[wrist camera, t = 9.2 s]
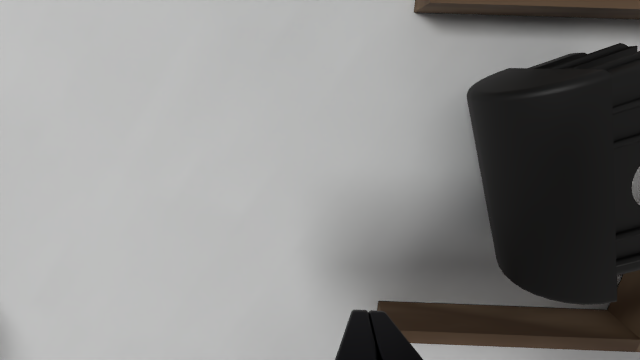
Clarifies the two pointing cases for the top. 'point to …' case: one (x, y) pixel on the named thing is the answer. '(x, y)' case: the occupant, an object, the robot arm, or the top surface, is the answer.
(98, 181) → the top surface
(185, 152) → the top surface
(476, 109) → the end cap
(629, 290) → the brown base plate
